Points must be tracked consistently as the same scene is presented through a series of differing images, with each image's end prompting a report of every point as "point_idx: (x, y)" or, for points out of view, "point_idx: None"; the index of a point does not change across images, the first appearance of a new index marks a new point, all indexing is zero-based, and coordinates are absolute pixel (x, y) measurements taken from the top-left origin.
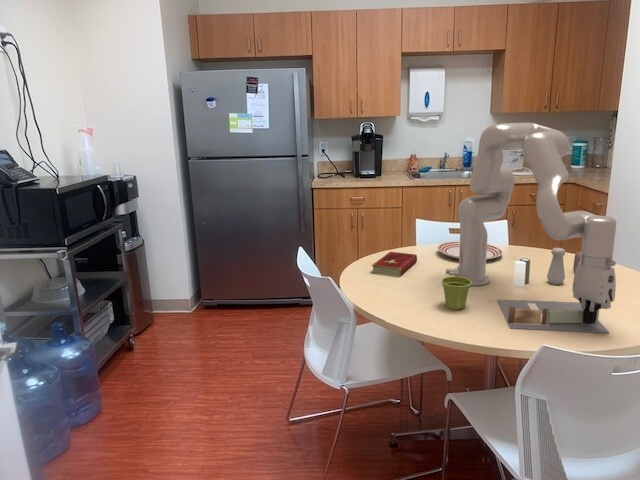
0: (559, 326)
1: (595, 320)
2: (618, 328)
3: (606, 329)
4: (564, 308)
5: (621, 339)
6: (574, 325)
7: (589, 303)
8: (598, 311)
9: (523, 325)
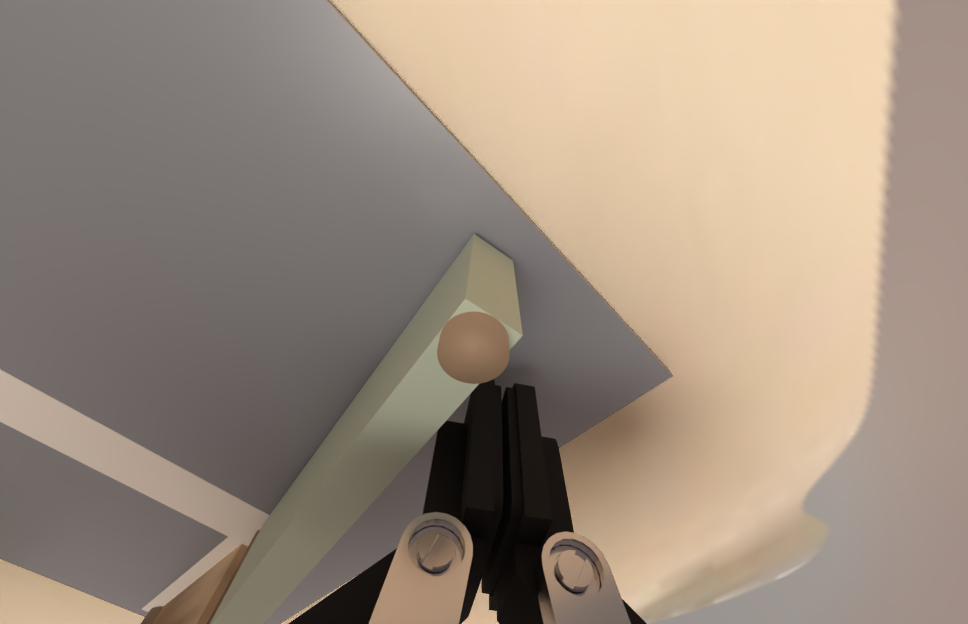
0: None
1: (553, 443)
2: (714, 192)
3: (631, 337)
4: (11, 123)
5: (771, 400)
6: None
7: (435, 612)
8: (514, 336)
9: None
